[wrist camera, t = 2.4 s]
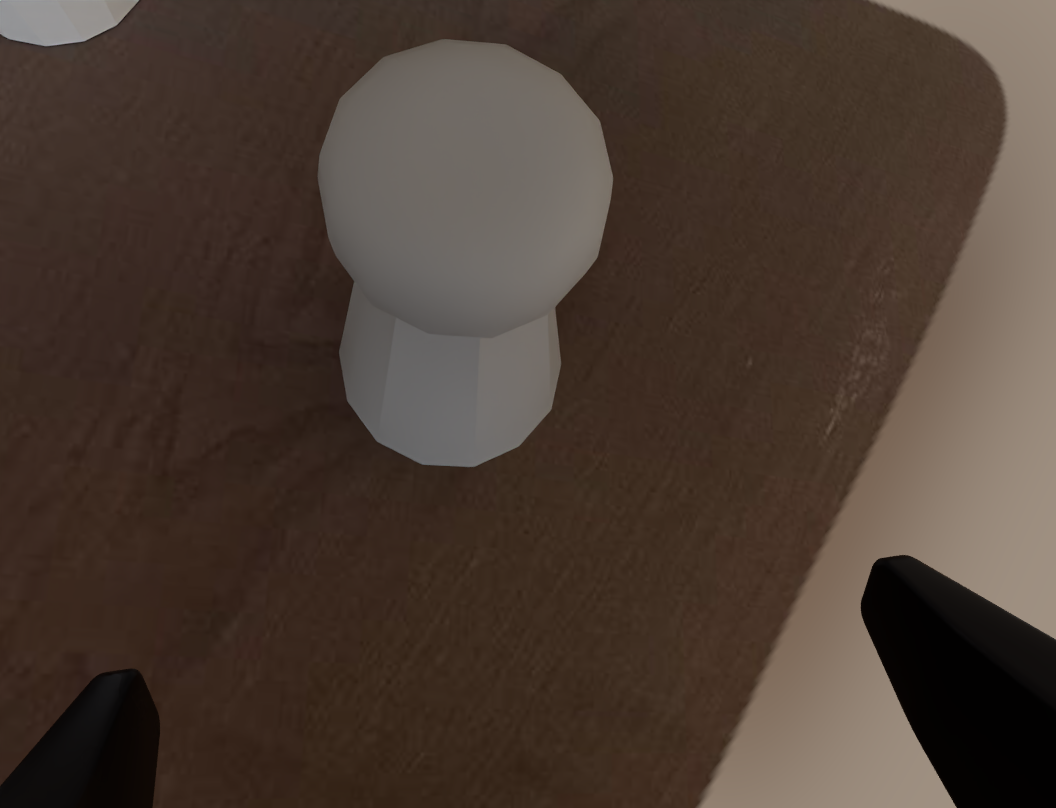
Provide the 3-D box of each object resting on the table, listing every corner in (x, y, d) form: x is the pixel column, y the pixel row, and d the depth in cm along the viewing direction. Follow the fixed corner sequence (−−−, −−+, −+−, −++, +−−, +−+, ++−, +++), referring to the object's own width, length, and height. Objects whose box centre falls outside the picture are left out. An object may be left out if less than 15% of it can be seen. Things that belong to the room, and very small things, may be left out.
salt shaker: (548, 294, 24) (682, -15, 11) (546, 481, 23) (693, 363, 10) (354, 282, 23) (268, -61, 11) (341, 474, 22) (226, 339, 10)
